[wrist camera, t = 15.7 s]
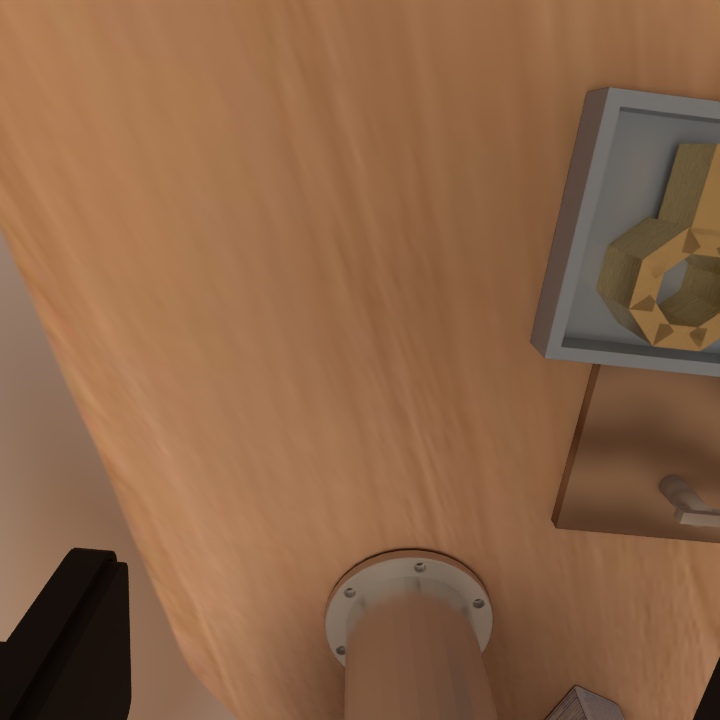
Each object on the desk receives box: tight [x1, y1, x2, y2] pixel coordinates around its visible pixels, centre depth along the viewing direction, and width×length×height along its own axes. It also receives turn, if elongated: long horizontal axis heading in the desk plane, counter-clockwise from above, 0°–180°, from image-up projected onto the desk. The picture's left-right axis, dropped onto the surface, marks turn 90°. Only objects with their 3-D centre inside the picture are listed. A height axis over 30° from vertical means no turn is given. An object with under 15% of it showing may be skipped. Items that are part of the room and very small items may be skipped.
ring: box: [596, 144, 720, 351], centre depth 32 cm, size 10×6×4 cm, turn 173°
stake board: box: [551, 364, 720, 543], centre depth 38 cm, size 13×12×5 cm
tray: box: [530, 87, 720, 377], centre depth 34 cm, size 15×13×3 cm
